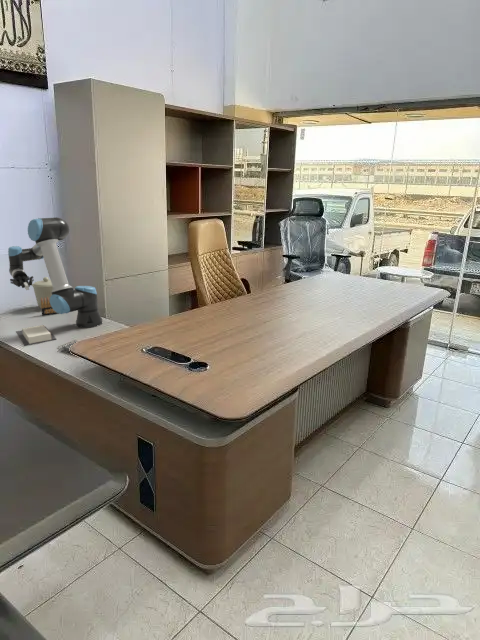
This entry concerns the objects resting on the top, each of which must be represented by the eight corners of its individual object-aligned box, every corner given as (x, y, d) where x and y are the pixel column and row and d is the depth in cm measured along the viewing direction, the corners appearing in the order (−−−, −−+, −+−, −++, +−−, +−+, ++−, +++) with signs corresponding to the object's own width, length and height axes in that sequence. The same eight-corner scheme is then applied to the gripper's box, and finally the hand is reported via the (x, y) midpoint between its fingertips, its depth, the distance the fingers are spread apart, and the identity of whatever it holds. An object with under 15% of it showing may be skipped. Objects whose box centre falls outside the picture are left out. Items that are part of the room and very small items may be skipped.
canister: (54, 302, 311) (50, 273, 305) (69, 306, 301) (65, 276, 295) (29, 307, 298) (25, 277, 291) (44, 312, 287) (40, 281, 281)
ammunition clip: (59, 312, 287) (57, 295, 283) (60, 313, 285) (57, 295, 282) (41, 315, 281) (39, 297, 278) (42, 316, 280) (39, 297, 276)
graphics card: (55, 346, 219) (74, 339, 229) (56, 353, 221) (75, 345, 230) (77, 353, 211) (97, 345, 221) (78, 360, 212) (97, 352, 222)
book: (22, 328, 243) (28, 337, 229) (43, 324, 249) (50, 333, 235) (22, 334, 244) (29, 343, 230) (44, 330, 250) (51, 339, 236)
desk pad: (15, 332, 249) (15, 331, 249) (45, 327, 258) (45, 326, 258) (24, 345, 229) (24, 344, 228) (56, 339, 237) (56, 338, 237)
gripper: (32, 280, 270) (40, 292, 252) (8, 283, 263) (15, 295, 245) (30, 269, 267) (38, 279, 249) (6, 271, 260) (13, 283, 242)
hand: (27, 287), depth 247 cm, fingers closed
